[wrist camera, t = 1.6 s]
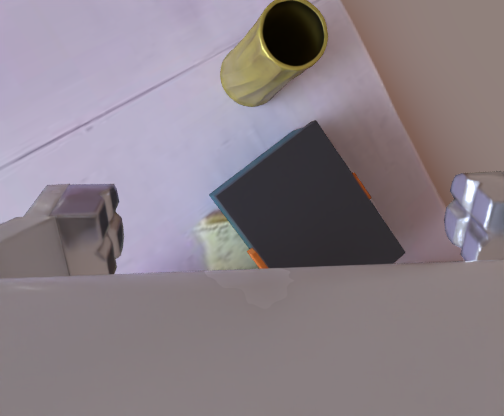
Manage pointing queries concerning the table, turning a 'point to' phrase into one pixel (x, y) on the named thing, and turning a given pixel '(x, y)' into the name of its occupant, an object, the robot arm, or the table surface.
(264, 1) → the table surface
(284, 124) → the table surface
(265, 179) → the lunchbox
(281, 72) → the vase
